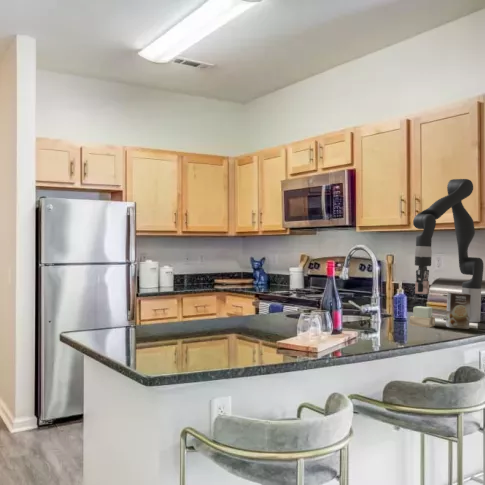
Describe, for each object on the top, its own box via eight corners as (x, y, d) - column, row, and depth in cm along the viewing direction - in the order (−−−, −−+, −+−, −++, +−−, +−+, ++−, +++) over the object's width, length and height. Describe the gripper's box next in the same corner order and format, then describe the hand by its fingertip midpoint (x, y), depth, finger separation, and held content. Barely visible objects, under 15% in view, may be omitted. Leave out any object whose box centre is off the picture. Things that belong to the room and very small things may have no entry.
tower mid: (417, 315, 261) (417, 306, 261) (432, 316, 257) (432, 307, 257) (413, 316, 255) (413, 307, 255) (428, 318, 251) (428, 308, 251)
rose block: (418, 292, 260) (418, 280, 260) (428, 293, 258) (429, 281, 258) (415, 293, 256) (415, 280, 256) (425, 294, 253) (426, 281, 253)
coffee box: (449, 327, 252) (450, 293, 252) (445, 325, 258) (446, 292, 258) (469, 329, 251) (470, 294, 251) (465, 327, 257) (466, 293, 257)
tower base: (416, 324, 263) (416, 314, 263) (434, 326, 257) (435, 316, 257) (409, 326, 255) (410, 316, 255) (428, 328, 250) (429, 318, 250)
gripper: (419, 255, 265) (418, 290, 265) (410, 255, 253) (409, 291, 253) (435, 256, 261) (433, 291, 261) (427, 256, 249) (425, 292, 249)
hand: (421, 291), depth 257 cm, fingers closed on rose block, 5 cm apart
